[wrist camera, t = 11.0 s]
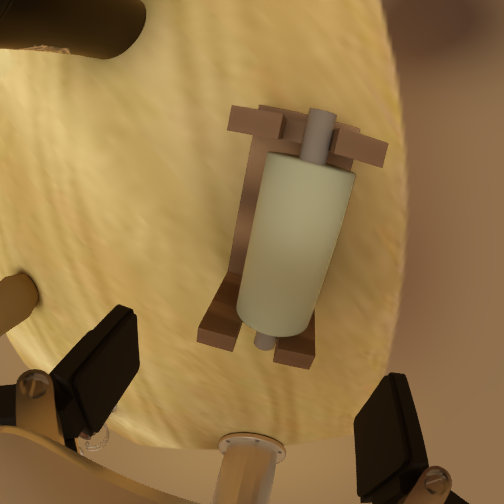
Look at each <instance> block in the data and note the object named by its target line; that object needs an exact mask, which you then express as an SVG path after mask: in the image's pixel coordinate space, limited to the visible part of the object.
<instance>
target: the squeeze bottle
mask: <svg viewBox="0 0 504 504" xmlns="http://www.w3.org/2000/svg"><path fill="white" fill-rule="evenodd" d="M37 302H38V292H37V289H36V287H35V285H34V283H33V282H32V280H31V279H30V278H29V277H28V276H27V275H25V274H18V275H13V276H8V277H5V278H4V279H2V280H1V281H0V336H1V335H3V334H5V333H6V332H7V331H9V330H10V329H12V328H13V327H15V326H16V325H18V324H19V323H21V322H22V321H24V320H25V319H27V318H28V317H29V316H30V314H31V313H32V311H33V309H34V307H35V305H36V304H37Z"/></svg>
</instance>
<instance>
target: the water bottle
mask: <svg viewBox="0 0 504 504" xmlns="http://www.w3.org/2000/svg"><path fill="white" fill-rule="evenodd" d="M145 19H146V10H145V7H144V5H143V3H142V2H141V1H140V0H0V49H13V50H16V49H17V50H32V51H34V50H35V51H45V52H49V51H50V52H54V53H63V54H74V55H81V56H87V57H93V58H98V59H110V58H113V57H116V56H118V55H119V54H121V53H123V52H124V51H125V50H127V49H128V48H129V47H130V46H131V45H132V44H133V43H134V42H135V40H136V39H137V38H138V36H139V35H140V33H141V31H142V29H143V26H144V24H145Z"/></svg>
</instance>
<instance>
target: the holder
mask: <svg viewBox="0 0 504 504" xmlns="http://www.w3.org/2000/svg"><path fill="white" fill-rule="evenodd" d="M307 119H308V115H307V114H303V113H299V112H294V111H289V110H285V109H280V108H275V107H269V106H264V105H259V108H258V109H252V108H246V107H240V106H233V105H232V107H231V112H230V117H229V123H228V128H227V130H228V131H234V132H240V133H245V134H251V135H253V138H252V143H251V148H250V153H249V159H248V164H247V169H246V174H245V179H244V185H243V190H242V195H241V201H240V206H239V212H238V217H237V223H236V228H235V234H234V239H233V245H232V251H231V256H230V262H229V268H228V272H227V274H226V276H225V278H224V280H223V282H222V283H221V285H220V287H219V289H218V291H217V293H216V295H215V297H214V299H213V300H212V302H211V304H210V306H209V308H208V310H207V312H206V314H205V316H204V317H203V319H202V321H201V323H200V325H199V327H198V334H197V342H199V343H203V344H206V345H209V346H213V347H216V348H220V349H224V350H227V351H231V352H233V349H234V346H235V343H236V340H237V337H238V334H239V331H240V328H241V325H242V322H243V321H242V320H241V318H240V317H239V315H238V313H237V310H236V305H237V300H238V295H239V290H240V285H241V280H242V275H243V270H244V265H245V260H246V255H247V250H248V245H249V240H250V235H251V230H252V225H253V220H254V215H255V210H256V205H257V200H258V195H259V191H260V186H261V181H262V176H263V171H264V166H265V161H266V156H267V152H270V151H271V152H281V153H287V154H293V155H298V156H300V151H301V147H302V142H303V138H304V133H305V128H306V124H307ZM359 133H360V129H359V128H356V127H352V126H349V125H346V124H342V123H339V122H335V126H334V130H333V135H332V139H331V144H330V148H329V152H328V157H327V161H326V163H329V164H332V165H335V166H338V167H341V168H344V169H346V170H349V171H351V167H352V163H353V159H355V160H358V161H361V162H365V163H368V164H371V165H374V166H377V167H380V168H382V167H383V163H384V159H385V155H386V151H387V147H388V143H386V142H383V141H380V140H377V139H374V138H371V137H368V136H365V135H362V134H359ZM314 358H315V312H314V311H313V313H312V316H311V319H310V321H309V324H308V326H307V328H306V329H305V330H304V331H303V332H301V333H299V334H297V335H294V336H289V337H277V340H276V347H275V353H274V359H273V362H275V363H280V364H284V365H289V366H294V367H298V368H303V369H308V370H309V369H310V366H311V364H312V362H313V360H314Z"/></svg>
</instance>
